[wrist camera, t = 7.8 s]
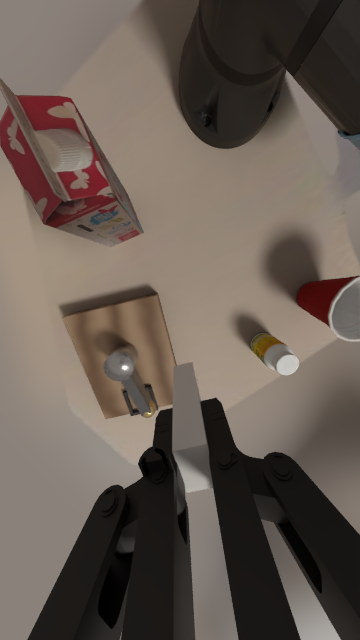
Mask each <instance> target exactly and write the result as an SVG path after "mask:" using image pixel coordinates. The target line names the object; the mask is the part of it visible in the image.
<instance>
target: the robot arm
mask: <svg viewBox="0 0 360 640" xmlns="http://www.w3.org/2000/svg"><path fill="white" fill-rule="evenodd" d="M299 67H300V68H299ZM286 70H287V71H288V72H289V73H290V74H291V75H292V76H293V78H294V79H295V80H296V81H297V83H298V84H299V85H300V86H301V87H302V88H303V89H304V91H305V92H306V93H307V94H308V95H309V97H310V98H311V99H312V100H313V101H314V102H315V103H316V105H317V106H318V107H319V108H320V109H321V110H322V112H323V113H324V114H325V115H326V116H327V117H328V118H329V120H330V121H331V122H332V123H333V124H334V125H335V127H336V128H337V129H338V134H339V135H340V136H341V137H343V138H344V139H348V140H349V141H351V142H352V143H353V144H354V145H355V146H356V147H357V148H358V149H359V150H360V0H199V6H198V8H197V11H196V14H195V17H194V19H193V22H192V25H191V28H190V31H189V34H188V36H187V38H186V41H185V44H184V47H183V51H182V56H181V62H180V74H179V96H180V103H181V107H182V111H183V114H184V116H185V119H186V121H187V123H188V125H189V126H190V128H191V129H192V131H193V132H194V133H195V134H196V135H197V136H198V137H199V138H200V139H201V140H202V141H204V142H205V143H207V144H209V145H211V146H213V147H217V148H223V149H229V148H235V147H238V146H241V145H243V144H245V143H246V142H248V141H249V140H251V139H252V138H253V137H254V136H255V135H256V134H257V133H258V132H259V131H260V130H261V128H262V127H263V126H264V124H265V123H266V121H267V119H268V118H269V116H270V115H271V113H272V111H273V109H274V107H275V105H276V103H277V100H278V98H279V95H280V91H281V88H282V84H283V81H284V77H285V73H286ZM138 465H139V467H140V469H141V472H142V474H143V477H142V478H141V479H140V480H138V481H137V482H136V483H134V484H132V485H130V486H129V487H127V488H125V489H123V487H122V486H120V485H113V486H111V487H109V488H107V489H106V490H105V491H104V492H103V493H102V494H101V495H100V496H99V498H98V499H97V501H96V503H95V505H94V507H93V509H92V511H91V512H90V515H89V517H88V519H87V521H86V523H85V525H84V527H83V529H82V531H81V533H80V535H79V537H78V539H77V541H76V543H75V545H74V547H73V549H72V551H71V553H70V555H69V557H68V559H67V561H66V563H65V565H64V567H63V569H62V571H61V573H60V575H59V577H58V579H57V581H56V583H55V585H54V587H53V589H52V591H51V593H50V595H49V597H48V599H47V601H46V603H45V605H44V607H43V610H42V611H41V613H40V615H39V618H38V620H37V622H36V623H35V626H34V627H33V629H32V632H31V634H30V636H29V638H28V640H119V639H120V636H121V632H122V637H121V640H195V628H194V610H193V591H192V573H191V555H190V538H189V537H190V536H189V518H188V507H187V503H186V500H185V489H186V492H187V493H188V492H193V491H198V490H204V489H209V488H213V489H214V495H215V501H216V507H217V513H218V518H219V525H220V531H221V536H222V543H223V549H224V554H225V560H226V567H227V573H228V578H229V584H230V591H231V597H232V603H233V608H234V614H235V621H236V627H237V632H238V639H239V640H301V639H300V636H299V633H298V631H297V627H296V624H295V621H294V618H293V615H292V613H291V609H290V606H289V603H288V600H287V597H286V595H285V591H284V588H283V585H282V582H281V579H280V576H279V573H278V570H277V567H276V564H275V561H274V558H273V555H272V552H271V549H270V546H269V543H268V540H267V537H266V534H265V531H264V528H263V525H262V522H261V519H263V520H267V521H271V522H274V524H275V526H276V527H277V529H278V531H279V533H280V534H281V536H282V538H283V539H284V541H285V543H286V545H287V546H288V548H289V550H290V551H291V553H292V555H293V556H294V559H295V560H296V562H297V564H298V566H299V567H300V569H301V571H302V572H303V574H304V576H305V578H306V579H307V581H308V583H309V585H310V586H311V588H312V590H313V592H314V593H315V595H316V597H317V598H318V600H319V602H320V604H321V605H322V607H323V609H324V611H325V612H326V614H327V616H328V618H329V619H330V621H331V623H332V625H333V626H334V628H335V630H336V631H337V633H338V635H339V637H340V639H341V640H360V535H359V534H358V533H357V531H356V530H355V529H354V528H353V527H352V526H351V525H350V524H349V522H348V521H347V520H346V519H345V518H344V517H343V515H342V514H341V513H340V512H339V511H338V510H337V509H336V507H335V506H334V505H333V504H332V503H331V502H330V501H329V499H328V498H327V497H326V496H325V495H324V494H323V493H322V491H321V490H320V489H319V488H318V487H317V486H316V485H315V484H314V482H313V481H312V480H311V479H310V478H309V477H308V475H307V474H306V473H305V472H304V471H303V470H302V469H301V467H300V466H299V465H298V464H297V463H296V462H295V461H294V460H293V459H292V458H291V457H289V456H287V455H285V454H283V453H279V452H273V453H269V454H268V455H266V456H265V457H264V459H259V458H253V457H249V456H247V455H245V454H243V453H242V452H240V451H239V450H238V448H237V447H236V445H235V443H234V440H233V437H232V434H231V431H230V428H229V425H228V422H227V419H226V416H225V413H224V410H223V407H222V403H221V402H220V401H219V400H218V399H217V398H213V399H209V400H204V401H202V399H201V394H200V390H199V386H198V382H197V378H196V374H195V370H194V366H193V362H191V363H187V364H183V365H178V366H174V367H173V408H170V409H166V410H161V411H160V412H159V414H158V416H157V417H156V423H155V431H154V439H153V447H150V448H149V449H147V450H146V451H145V452H144V453H143V454H142V456H141V457H140V460H139V463H138ZM122 628H123V629H122Z"/></svg>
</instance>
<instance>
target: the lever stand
mask: <svg viewBox="0 0 360 640" xmlns="http://www.w3.org/2000/svg"><path fill="white" fill-rule="evenodd" d="M62 318H63V320H64V323H65V325H66V327H67V330H68V332H69V334H70V337H71V339H72V341H73V344H74V346H75V348H76V351H77V353H78V355H79V358H80V360H81V362H82V365H83V367H84V370H85V372H86V374H87V377H88V379H89V381H90V384H91V386H92V388H93V391H94V393H95V395H96V398H97V400H98V402H99V405H100V407H101V409H102V412H103V414H104V417H105V419H108V418H113V417H117V416H122V415H126V414H131V416H134V415H138V414H140V412H139V411H138V409H137V407H136V406H135V404H134V402H133V401H132V399H131V397H130V396H129V394H128V392H127V391H126V389H125V387H124V386H123V384H122V382H121V381H114V380H112V379H110V378H108V377H107V376H106V374H105V372H104V369H103V366H104V363H105V361H106V359H107V358H108V357H109V355H110V354H111V352H112V351H113V350H114V348H115V347H116V346H117V345H119V344H130V345H132V346H133V347H134V348H135V349H136V350H137V352H138V359H137V362H136V364H135V367H134V369H135V370H136V372H137V374H138V376H139V378H140V379H141V381H142V383H143V385H144V386H145V388H146V390H147V392H148V394H149V395H150V397H151V399H152V401H153V402H154V403H155V406H156V410H158V407H162V406H166V405H171V404H173V367H174V366H177V364H176V361H175V357H174V353H173V349H172V345H171V342H170V338H169V334H168V330H167V326H166V322H165V319H164V315H163V311H162V307H161V303H160V300H159V296H158V293H156V294H152V295H148V296H144V297H139V298H135V299H131V300H127V301H122V302H118V303H114V304H110V305H105V306H101V307H97V308H93V309H88V310H84V311H80V312H76V313H71V314H69V315H67V316H65V317H62ZM156 410H155V411H156Z"/></svg>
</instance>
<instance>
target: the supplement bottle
mask: <svg viewBox="0 0 360 640" xmlns="http://www.w3.org/2000/svg"><path fill="white" fill-rule="evenodd" d="M251 350H252V351H253V352H254V353H255V354H256V355H257V357H258V358H259V359H260V360H261V361H262V362H263V363H264V364H265V365H266V366H267V367H268V368H270V369H272V370H275V371H277V372H278V373H280V374H282V375H289V374H292V373H294V372H295V371H296V370H297V368H298V366H299V360H298V358H297V357H296V356H295V355H293V352H292V350H291V349H290V348H289V347H288V346H287V345H285V344H284V343H282V342H281V341H279V340H278V339H276V338H275V337H273V336H272V335H270V334H268V333H260V334H257V335H256V336H255V337H254V338H253V339H252V341H251Z"/></svg>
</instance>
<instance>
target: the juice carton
mask: <svg viewBox="0 0 360 640" xmlns="http://www.w3.org/2000/svg"><path fill="white" fill-rule="evenodd" d="M0 90H1V92H2V94H3V96H4V98H5V100H6V102H7V104H8V106H7V108H6V110H5V113H4V115H3V117H2V119H1V121H0V146H1V148H2V149H3V151H4V153H5V155H6V157H7V159H8V160H9V162H10V164H11V166H12V168H13V169H14V171H15V173H16V175H17V177H18V178H19V180H20V182H21V184H22V186H23V187H24V189H25V191H26V193H27V195H28V196H29V198H30V200H31V202H32V204H33V205H34V207H35V209H36V211H37V213H38V215H39V216H40V218H41V220H42V222H43V224H45V225H48V226H51V227H54V228H57V229H60V230H63V231H65V232H68V233H71V234H74V235H77V236H80V237H83V238H86V239H89V240H92V241H95V242H98V243H100V244H103V245H106V246H109V247H112V246H115V245H117V244H119V243H121V242H124V241H126V240H128V239H131V238H133V237H135V236H138V235H140V234H142V233H144V232H143V230H142V228H141V225H140V223H139V220H138V218H137V216H136V213H135V211H134V208H133V206H132V204H131V201H130V199H129V196H128V194H127V192H126V190H125V189H124V187H123V185H122V184H121V182H120V180H119V179H118V177H117V175H116V174H115V172H114V170H113V168H112V167H111V165H110V163H109V162H108V160H107V158H106V157H105V155H104V153H103V152H102V150H101V148H100V147H99V145H98V143H97V141H96V140H95V138H94V136H93V135H92V133H91V131H90V130H89V128H88V126H87V124H86V123H85V121H84V119H83V118H82V116H81V114H80V113H79V111H78V109H77V108H76V106H75V104H74V102H73V101H72V99H71V98H68V97H62V96H32V95H31V96H30V95H28V96H27V95H20V96H17V95H14V93H13V92H12V91H11V90H10V89H9V88H8V87H7V85H6V84H5V83H4V82H3V81H2V80H1V79H0Z"/></svg>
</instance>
